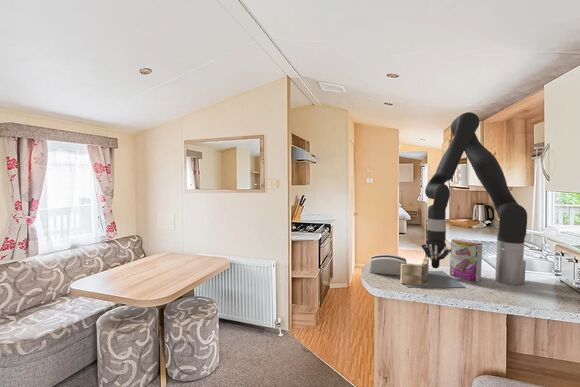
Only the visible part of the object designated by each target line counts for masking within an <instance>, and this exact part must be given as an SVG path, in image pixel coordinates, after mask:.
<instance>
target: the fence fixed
mask: <svg viewBox="0 0 580 387" xmlns="http://www.w3.org/2000/svg"><path fill="white" fill-rule="evenodd" d="M426 281H427V265H425V264H422V263H407V264H401V280H400V283H401V284H404V283H422V284H426Z"/></svg>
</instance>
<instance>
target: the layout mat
mask: <svg viewBox="0 0 580 387" xmlns="http://www.w3.org/2000/svg"><path fill="white" fill-rule="evenodd" d="M396 277H398V279H399V280H400V281H401V275H396ZM403 284H404V285H405V286H406V287H407V288H426V289H427V288H430V289H431V288H432V289H434V288H435V289H436V288H439V289H440V288H441V289H443V288H444V289H447V288H448V289H449V288H450V289H466V288H467V287H466V286H465V285H464V284H462V283H460V282H459V281H457V280H456V279H454V277H453V276H451V275H450V274H448V273H447V272H445V271H443V270H428V277H427V281H426V284H422V283H403Z"/></svg>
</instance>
